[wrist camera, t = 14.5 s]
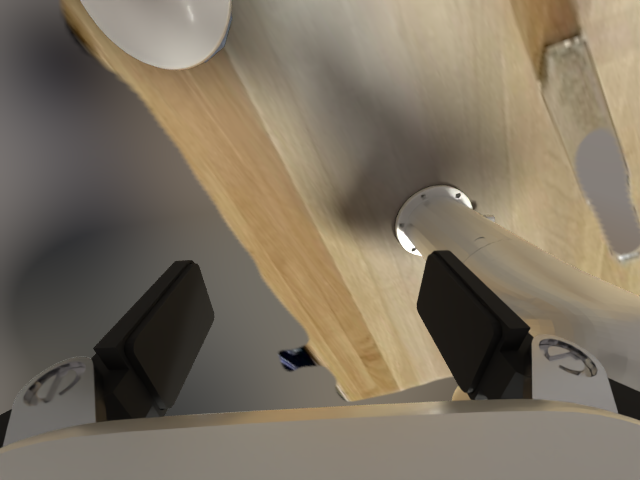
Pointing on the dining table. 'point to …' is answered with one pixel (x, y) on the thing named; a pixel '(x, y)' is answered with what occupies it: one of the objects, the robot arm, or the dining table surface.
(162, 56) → the lid
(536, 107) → the dining table surface
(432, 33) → the dining table surface
